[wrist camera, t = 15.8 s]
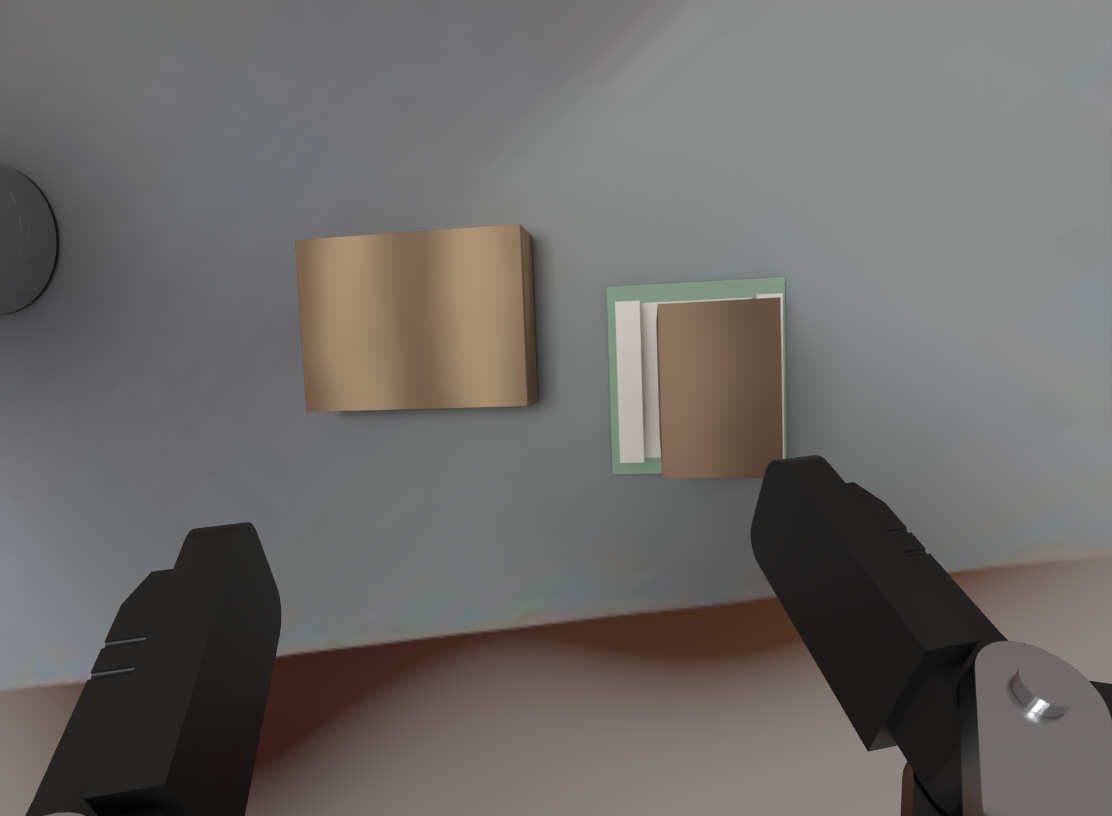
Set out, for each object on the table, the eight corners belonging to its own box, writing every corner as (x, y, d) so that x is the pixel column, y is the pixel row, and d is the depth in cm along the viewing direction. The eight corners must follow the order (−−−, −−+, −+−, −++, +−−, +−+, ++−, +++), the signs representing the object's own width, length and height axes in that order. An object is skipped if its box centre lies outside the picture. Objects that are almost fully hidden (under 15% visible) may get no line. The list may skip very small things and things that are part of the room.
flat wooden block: (334, 407, 37) (306, 411, 34) (324, 249, 36) (294, 240, 33) (537, 401, 35) (527, 406, 32) (531, 235, 34) (519, 224, 31)
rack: (621, 455, 34) (619, 462, 32) (616, 305, 33) (614, 301, 31) (776, 453, 33) (785, 460, 30) (774, 297, 32) (783, 292, 30)
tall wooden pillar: (659, 438, 33) (662, 478, 22) (656, 321, 32) (657, 304, 21) (739, 436, 32) (783, 477, 21) (736, 317, 32) (780, 297, 21)
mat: (612, 472, 34) (612, 474, 34) (607, 287, 34) (606, 286, 33) (785, 471, 33) (786, 472, 33) (783, 278, 32) (784, 277, 32)
